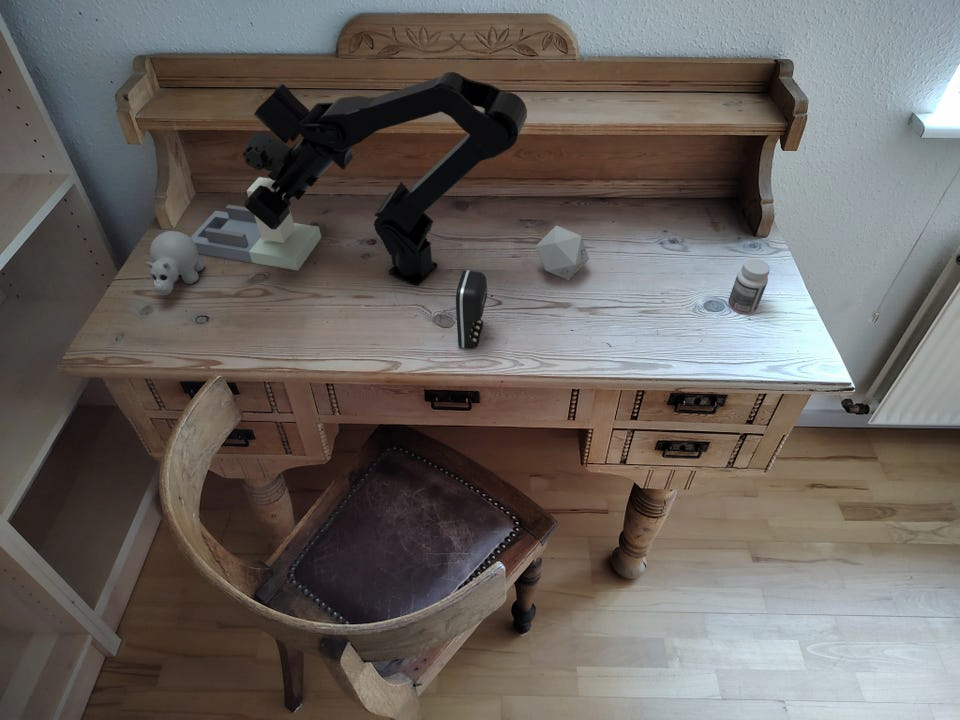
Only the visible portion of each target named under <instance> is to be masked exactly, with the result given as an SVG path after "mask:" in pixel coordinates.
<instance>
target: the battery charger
mask: <svg viewBox="0 0 960 720" xmlns="http://www.w3.org/2000/svg"><path fill="white" fill-rule="evenodd" d="M460 276H461V277H460V279H459V282H458V285H457V289H456V294H455V313H456V314H455V315H456V328H457V329H456V330H457V345H458V348H462V349H474V348H477V347H478V346H479V343H480V339H481V335H482V332H483V328H484V320H482V317H483V313H484V310H485V306H486V303H487V299H488V282H487V277H486V275H485V274H484V273H483V272H481V271H474V270H470V269H466V270H463V271H462V273H461V275H460Z"/></svg>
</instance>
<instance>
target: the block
mask: <svg viewBox="0 0 960 720" xmlns="http://www.w3.org/2000/svg"><path fill="white" fill-rule="evenodd" d="M275 181H276V180H275ZM275 181H273V180H272V179H271V178H269V177H261V176H259V177H258V178H257V179H256V180H255V181H254V182H253V183H252V184H251V185H250V186H249V188H248V189H247V190H246V193H247V198H249V196H250V195H251V194H252V193H253V192H254V191H255V190H256V189H257V188H258V186H260V185H262V186H266V187H268V188H269V189H270V190H271V191H272V192H273V191H274V189H272V188H271V185H272V184H273V183H274V182H275ZM278 190H279V187H278V188H277V190H276V192H277V191H278ZM285 194H286V193H284V194H283V195H282V197H283V196H284V195H285ZM283 199H284V198H283ZM283 199H282V200H283ZM289 210H290V213H289V215H288V216H287V217H286V218H285V220H284V221H283V222H282V223H281V224H280V226H279V227H278V228H277V229H276V230H275V229H270V228H269V227H268V226H267V225H266V224H264V223H263V222H262V221H261V220H260V219H258V218H257V217H256V216H255V215H254V216H255V219H256V222H257V226H258V229H259V232H260V235H261V239H263V240H269V241H275V242H281V243H284V242H285V241H286V240H287V238H288V237H289V236H290V235H291V233H292V232H293V231H294V229H295V227H294V223H295V222H294V220H293V219H294V218H293V216H292V212H291V209H290V207H289Z"/></svg>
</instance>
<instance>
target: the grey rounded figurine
mask: <svg viewBox="0 0 960 720" xmlns="http://www.w3.org/2000/svg"><path fill="white" fill-rule="evenodd" d="M190 237H191V236H189V235H187V234H186V233H183V232H181V231H176V230H169V231H164V232H162V233H160V234H159V235H157V236H156V237H155V238H154V239H153V240H152V242H151V244H150V247H149V248H150V249H149V255H150V259H151V262H150V261H146V262H145V264H146V265H147V267H148V268H149V276H150V278H151V279H152V281H153V288H154V291H155V292H156V293H157V294H159V295H162V296H165V295H169V294H170V293H172V291H173V289H174V284H175V283H177V282H178V280H180V278H181V280H182V281H183V282H184V283H185V284H188V285H191V284H194V283H196V282H197V281H198V280H199V278H200V277H199V276H200V275H199V273H198V272H202V270H203V269H204V268H205V267H206V266H205V261H204V259H202V257H200V255H199V254H198V250H197V247H196V245H195V243H194V241H193V240H192V239H191V238H190Z"/></svg>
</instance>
